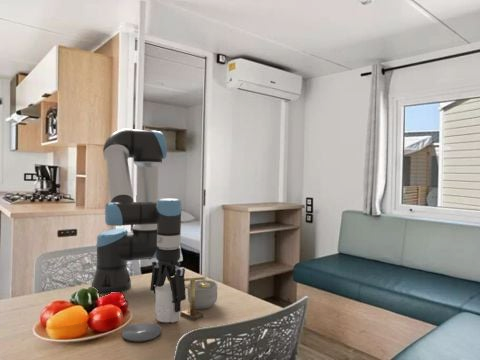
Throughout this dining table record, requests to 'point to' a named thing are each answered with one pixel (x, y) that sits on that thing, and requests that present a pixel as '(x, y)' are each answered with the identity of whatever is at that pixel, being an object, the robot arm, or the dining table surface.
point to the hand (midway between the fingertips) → (167, 317)
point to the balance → (191, 311)
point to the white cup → (163, 302)
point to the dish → (141, 332)
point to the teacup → (204, 294)
